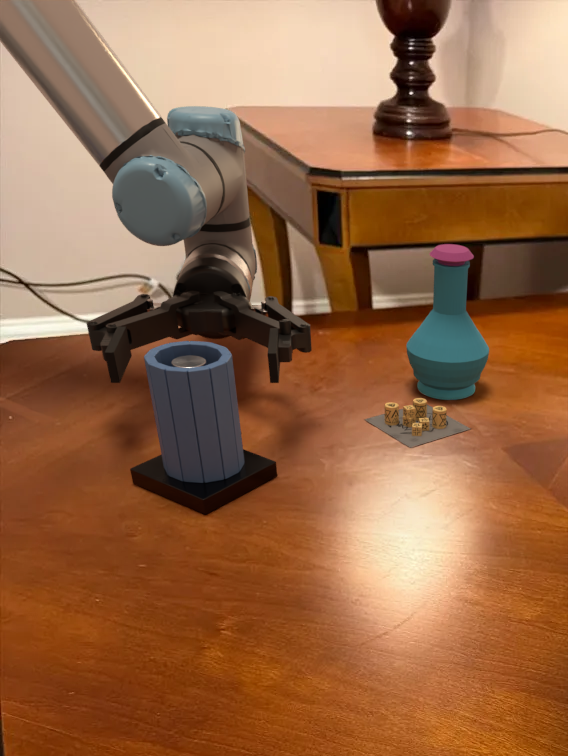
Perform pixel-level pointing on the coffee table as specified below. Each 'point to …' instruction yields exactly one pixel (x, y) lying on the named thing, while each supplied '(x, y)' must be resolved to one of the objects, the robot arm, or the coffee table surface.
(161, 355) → the blue sleeve
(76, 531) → the coffee table surface
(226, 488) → the peg on square base
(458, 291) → the perfume bottle
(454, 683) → the coffee table surface
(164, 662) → the coffee table surface
